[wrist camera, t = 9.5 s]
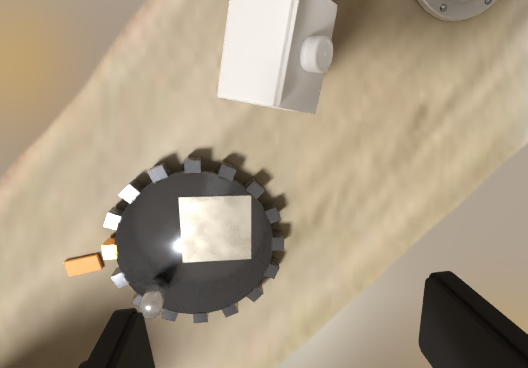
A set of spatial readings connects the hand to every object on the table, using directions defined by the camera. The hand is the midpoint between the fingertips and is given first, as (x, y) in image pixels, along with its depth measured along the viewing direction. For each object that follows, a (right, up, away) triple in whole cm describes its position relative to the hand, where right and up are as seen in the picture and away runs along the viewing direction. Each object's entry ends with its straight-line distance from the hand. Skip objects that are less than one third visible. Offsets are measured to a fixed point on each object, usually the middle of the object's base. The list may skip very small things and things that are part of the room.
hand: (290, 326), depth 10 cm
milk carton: (-2, +18, +25) cm, 30 cm away
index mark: (-24, -5, +28) cm, 37 cm away
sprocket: (-9, -3, +29) cm, 31 cm away
